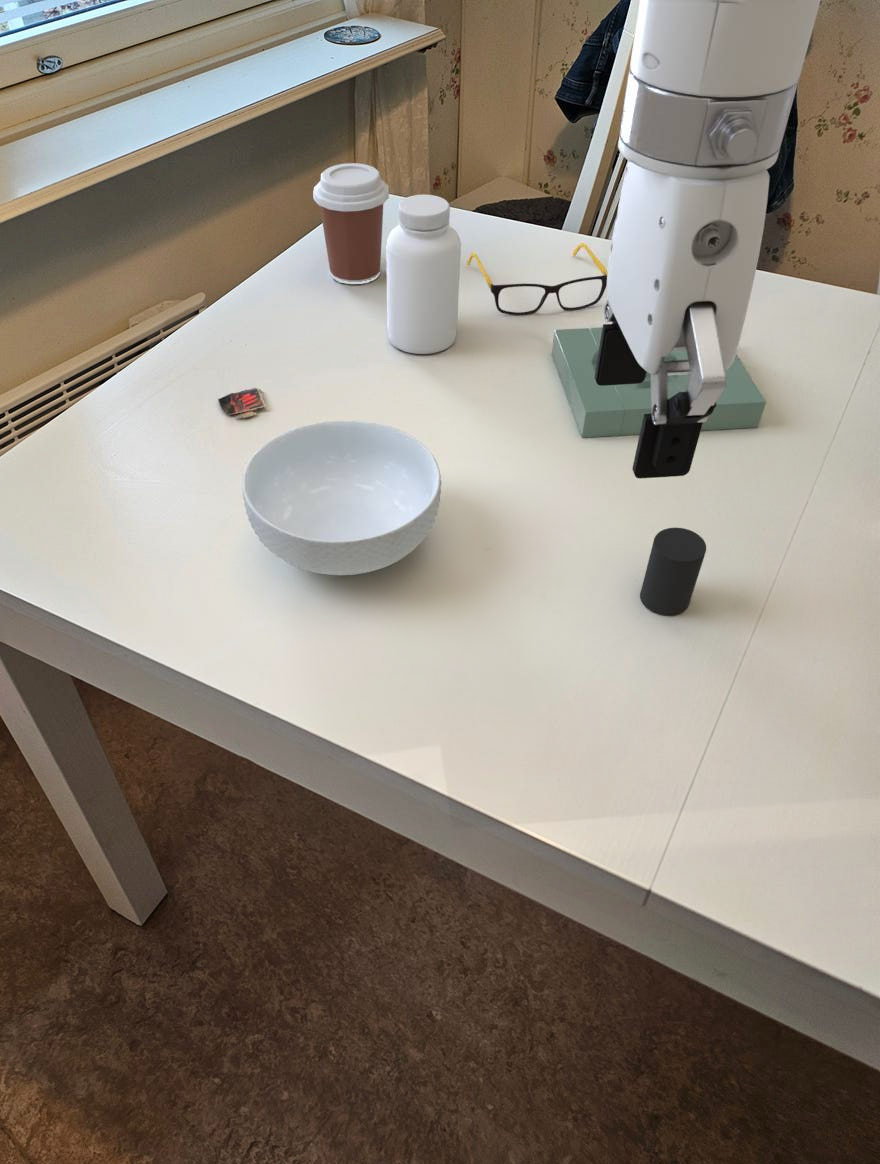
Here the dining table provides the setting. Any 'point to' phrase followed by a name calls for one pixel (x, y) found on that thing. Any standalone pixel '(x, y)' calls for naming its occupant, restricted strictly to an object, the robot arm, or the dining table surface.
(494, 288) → the eyeglasses
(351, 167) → the coffee cup
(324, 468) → the cereal bowl
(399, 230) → the pill bottle
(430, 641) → the dining table surface
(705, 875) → the dining table surface
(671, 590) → the stopper
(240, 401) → the matchbox
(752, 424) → the plate
